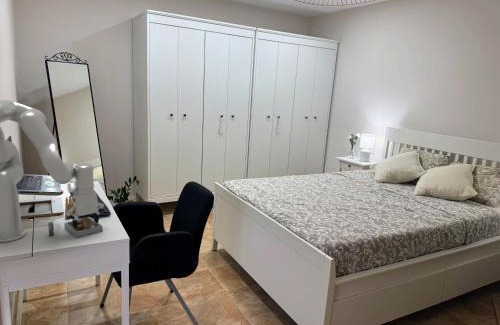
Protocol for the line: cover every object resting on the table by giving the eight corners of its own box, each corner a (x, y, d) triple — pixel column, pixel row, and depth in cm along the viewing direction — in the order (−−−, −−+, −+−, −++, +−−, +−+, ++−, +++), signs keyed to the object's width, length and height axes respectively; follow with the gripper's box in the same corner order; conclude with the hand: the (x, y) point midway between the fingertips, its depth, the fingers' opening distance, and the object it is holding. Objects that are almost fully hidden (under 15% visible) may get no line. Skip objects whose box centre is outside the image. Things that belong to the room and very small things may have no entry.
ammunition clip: (67, 220, 178) (65, 197, 176) (64, 219, 179) (63, 196, 176) (86, 214, 187) (85, 192, 184) (84, 213, 188) (83, 192, 185)
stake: (50, 236, 160) (49, 224, 158) (48, 234, 161) (47, 222, 160) (54, 235, 161) (53, 223, 160) (53, 233, 162) (52, 221, 161)
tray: (76, 238, 159) (76, 232, 159) (64, 228, 168) (64, 222, 168) (102, 231, 168) (102, 225, 168) (89, 222, 177) (89, 216, 177)
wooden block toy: (81, 234, 162) (80, 222, 161) (72, 227, 169) (71, 215, 168) (95, 230, 167) (94, 219, 166) (85, 224, 174) (85, 212, 172)
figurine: (88, 205, 199) (87, 180, 195) (70, 209, 192) (69, 183, 189) (84, 202, 204) (83, 177, 200) (66, 205, 197) (65, 179, 194)
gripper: (68, 195, 153) (70, 232, 157) (106, 188, 165) (107, 222, 169) (61, 191, 158) (63, 226, 161) (99, 185, 170) (100, 217, 174)
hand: (86, 224), depth 165 cm, fingers open, 9 cm apart
